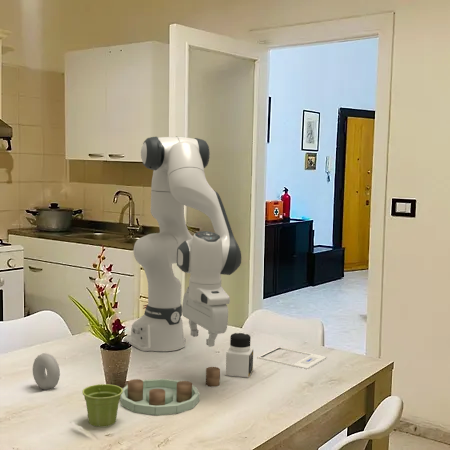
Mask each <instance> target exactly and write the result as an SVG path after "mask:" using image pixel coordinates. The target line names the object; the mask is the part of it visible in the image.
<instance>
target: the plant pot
mask: <svg viewBox="0 0 450 450" xmlns="http://www.w3.org/2000/svg"><path fill="white" fill-rule="evenodd" d="M122 393H123V387H120V386H119V385H115V384H108V383H103V384H102V383H100V384H92V385H89V386H87V387H85V388H83V390H82V393H81V394H82V395H83V396H84V397H83V398H84V401H85V404H86V411H87V419H88V424H89V425H91V426H93V427H101V428H102V427H105V428H106V427H109V426H113V425H114V424H115V423H116V422H117V415H118V409H119V403H120V397H121V394H122Z"/></svg>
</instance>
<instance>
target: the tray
mask: <svg viewBox="0 0 450 450" xmlns="http://www.w3.org/2000/svg"><path fill="white" fill-rule="evenodd" d="M141 380H142V379H141ZM142 381H143V400H141V401H137V402H134V401H132V400H130V399H128V398H127V397H128V384H126V385H125V386H124V387H122V389H123V393H122V394H121V397H120V399H119V401H120V404H121V406H122V407H123V408H125V409H127V410H129V411H131V412H133V413H137V414H138V413H139V414H144V415H152V416H164V415H166V416H167V415H177V414H180V413H184V412H186V411H189V410H193V409H194V407H196V406H197V404H199V402H200V392H199V390H198V388H197V387H196V386H195V385H193V384H192V398H191V399H190V400H187V401H184V402H181V403H179V402H177V401H176V393H177V382H179V381H180V380H179V379H177V380H176V379H171V378H169V379H168V378H155V379H153V378H152V379H150V378H149V379H143V380H142ZM152 389H163V390H165V405H158V406H155V405H149V391H150V390H152Z"/></svg>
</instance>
